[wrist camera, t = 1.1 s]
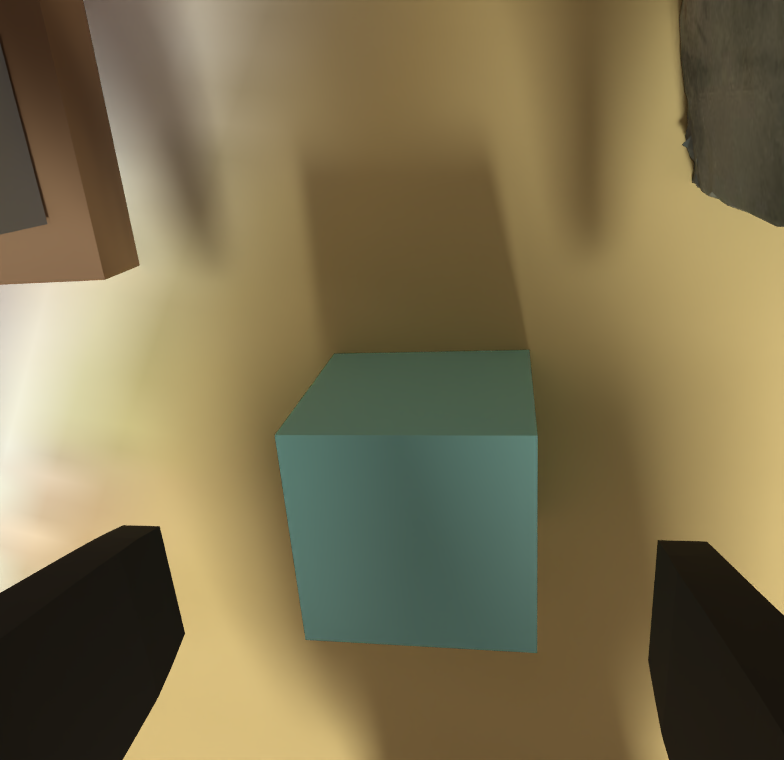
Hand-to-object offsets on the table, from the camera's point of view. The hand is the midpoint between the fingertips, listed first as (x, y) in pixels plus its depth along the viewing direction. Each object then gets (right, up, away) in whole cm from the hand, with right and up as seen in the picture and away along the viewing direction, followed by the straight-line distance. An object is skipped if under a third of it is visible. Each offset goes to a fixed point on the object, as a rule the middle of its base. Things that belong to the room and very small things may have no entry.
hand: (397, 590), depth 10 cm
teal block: (+1, +2, +5) cm, 5 cm away
